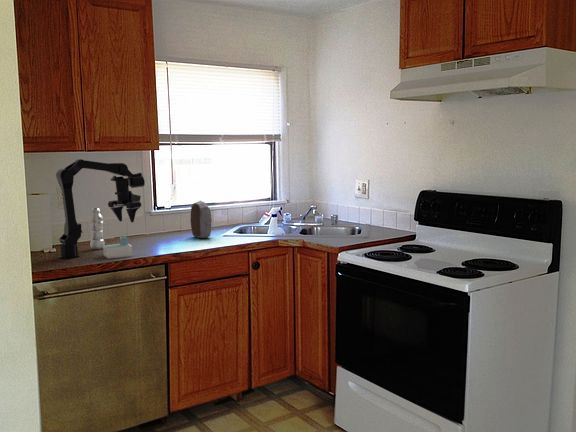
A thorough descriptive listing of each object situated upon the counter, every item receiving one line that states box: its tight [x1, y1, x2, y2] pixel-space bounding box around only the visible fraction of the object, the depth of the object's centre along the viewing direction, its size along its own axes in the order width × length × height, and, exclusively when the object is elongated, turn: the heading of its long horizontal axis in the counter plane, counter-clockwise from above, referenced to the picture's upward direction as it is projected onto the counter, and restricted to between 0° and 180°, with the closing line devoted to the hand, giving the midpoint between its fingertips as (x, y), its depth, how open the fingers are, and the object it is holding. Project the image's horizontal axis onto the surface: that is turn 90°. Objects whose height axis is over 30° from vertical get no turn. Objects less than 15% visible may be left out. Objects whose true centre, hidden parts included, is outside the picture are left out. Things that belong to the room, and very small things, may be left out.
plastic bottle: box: [88, 207, 106, 250], centre depth 268 cm, size 6×7×20 cm
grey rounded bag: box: [190, 200, 213, 239], centre depth 298 cm, size 15×8×20 cm, turn 37°
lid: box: [105, 236, 131, 248], centre depth 251 cm, size 9×7×4 cm
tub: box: [102, 243, 134, 260], centre depth 252 cm, size 11×9×5 cm
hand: (126, 221), depth 264 cm, fingers open, 9 cm apart
